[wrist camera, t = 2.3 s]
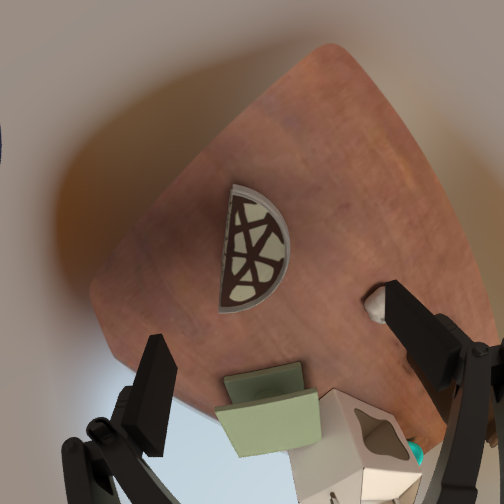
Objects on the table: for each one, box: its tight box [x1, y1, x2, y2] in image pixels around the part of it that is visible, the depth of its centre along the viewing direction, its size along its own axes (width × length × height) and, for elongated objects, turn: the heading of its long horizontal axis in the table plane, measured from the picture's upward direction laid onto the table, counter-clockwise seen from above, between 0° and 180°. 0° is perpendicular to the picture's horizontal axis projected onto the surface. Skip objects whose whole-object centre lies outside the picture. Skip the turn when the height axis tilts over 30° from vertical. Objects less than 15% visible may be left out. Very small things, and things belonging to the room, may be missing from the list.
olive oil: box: [407, 352, 498, 448], centre depth 33 cm, size 11×11×25 cm
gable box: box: [288, 388, 423, 504], centre depth 37 cm, size 22×13×28 cm, turn 52°
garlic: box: [364, 286, 386, 324], centre depth 38 cm, size 6×5×5 cm
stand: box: [215, 362, 322, 458], centre depth 42 cm, size 14×14×8 cm
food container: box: [218, 184, 290, 313], centre depth 31 cm, size 12×6×10 cm, turn 172°
